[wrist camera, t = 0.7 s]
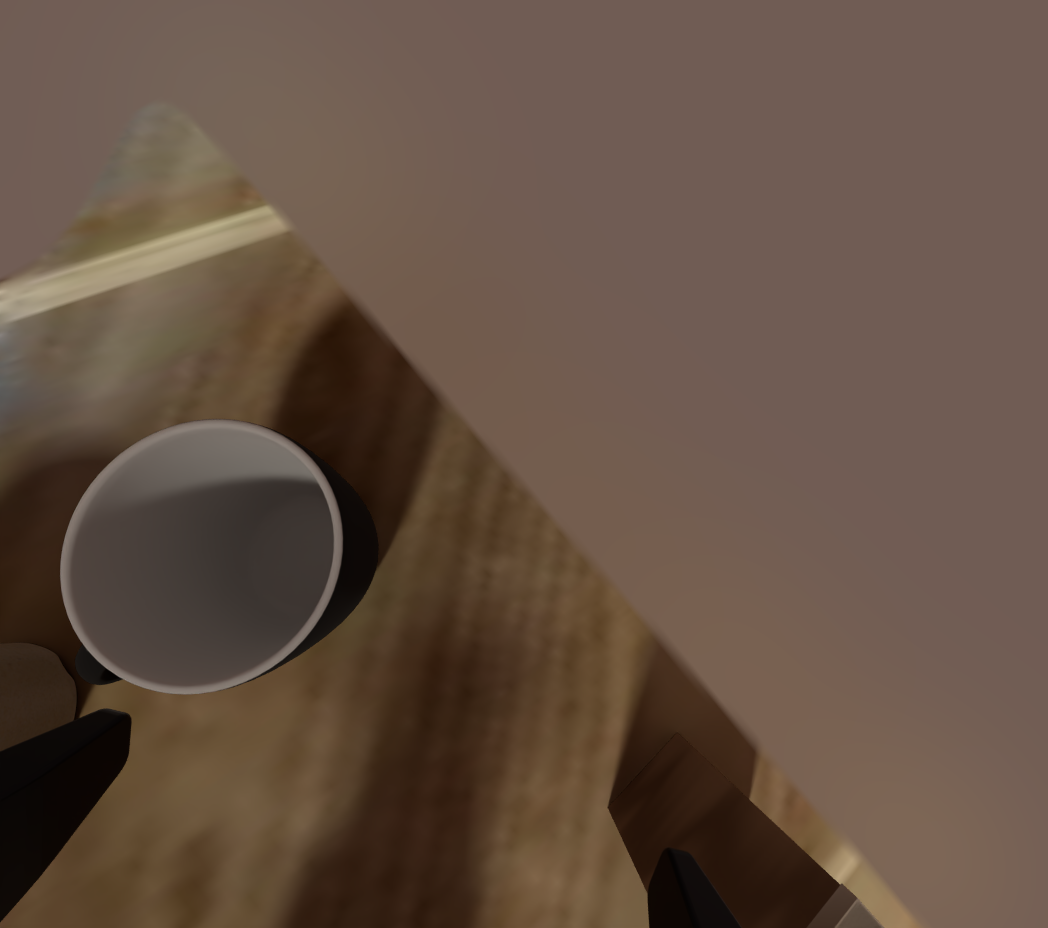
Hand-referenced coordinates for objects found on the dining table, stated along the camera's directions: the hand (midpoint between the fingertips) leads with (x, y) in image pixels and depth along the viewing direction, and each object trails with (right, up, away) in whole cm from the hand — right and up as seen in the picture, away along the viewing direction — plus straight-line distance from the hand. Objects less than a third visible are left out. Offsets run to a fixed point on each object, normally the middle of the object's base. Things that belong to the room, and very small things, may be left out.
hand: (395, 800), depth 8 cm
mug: (-10, 0, +18) cm, 21 cm away
